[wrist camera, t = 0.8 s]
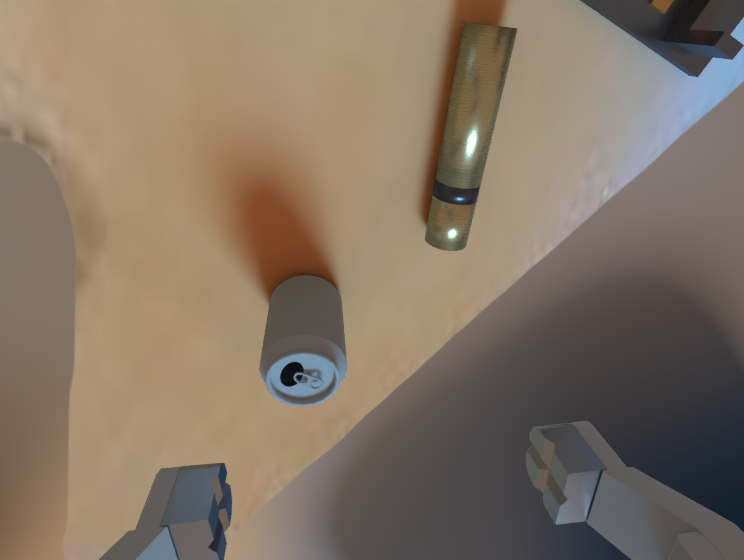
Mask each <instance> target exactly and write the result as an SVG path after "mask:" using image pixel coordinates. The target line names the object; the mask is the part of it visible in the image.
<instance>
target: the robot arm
mask: <svg viewBox="0 0 744 560" xmlns="http://www.w3.org/2000/svg"><path fill="white" fill-rule="evenodd" d="M530 440H531V441H532V443H533V445H532V446H531V447H530V448H529V449H528V450H527V455H526V464H527V470H528V473H529V476H530V479H531V481H532V483H533V484H534V486H535V487H536V488H538V489H539V490H540V491H542V492H543V493H544V498H543V503H544V505H545V506H546V508H547V510H548V511H549V513H550V515H551V517H552V519H553V521H554V522H555V524H565V523H573V522H583V521H587V523H588V524H589V525H590V526H591V527H593V528H594V529H595V530H596V531H598V532H599V533H600V534H601V535H602V536H604V537H605V538H606V539H607V540H608V541H610V542H611V543H612V544H613V545H615V546H616V547H617V548H618V549H619V550H621V551H622V552H623V553H624V554H625V555H627V556H628V557H629V558H630V559H632V560H744V533H743V532H742V531H741V530H740V529H739V528H738V527H737V526H736V525H735V524H734V523H732V522H730V521H728V520H726V519H725V518H723V517H721V516H719V515H718V514H716V513H714V512H712V511H710V510H709V509H707V508H705V507H703V506H701V505H700V504H698V503H696V502H694V501H692V500H690V499H689V498H687V497H685V496H683V495H681V494H680V493H678V492H676V491H674V490H672V489H671V488H669V487H667V486H665V485H663V484H662V483H660V482H658V481H656V480H655V479H653V478H651V477H649V476H647V475H646V474H644V473H642V472H640V471H638V470H637V469H635V468H633V467H629V468H627V467H626V466H625V465H624V463H623V462H622V461H621V460H620V459H619V457H618V456H617V455H616V453H615V452H614V451H613V450H612V449H611V447H610V446H609V445H608V444H607V442H606V441H605V440H604V439H603V438H602V436H601V435H600V434H599V433H598V432H597V430H596V429H595V428H594V427H593V425H592V424H590V423H589V422H587V421H583V422H574V423H568V424H567V423H564V424H556V425H548V426H541V427H534V428H533V429H532V430H531V433H530ZM226 476H227V470H226V466H225V463H214V464H202V465H191V466H182V467H172V468H161V469H160V471H159V472H158V473H157V474H156V477H155V479H154V482H153V485H152V487H151V490H150V492H149V495H148V498H147V500H146V503H145V506H144V508H143V511H142V513H141V516H140V519H139V521H138V524H137V526H136V529H135V530H132V531H128V532H127V533H126V534H125V535H124V536H123V537H122V538H121V539H120V540H119V541H118V542H117V543H115V544H114V545H113V546H112V547H111V548H110V549H109V550H108V551H107V552H106V553H105V554H104V555H103V556H102V557H101V558H100V559H99V560H224V556H225V550H226V545H227V543H226V538H225V534H224V532H225V531H226V530H227V528H228V527H229V526H230V521H231V515H232V494H231V488H230V485H229V484H227V483H226Z"/></svg>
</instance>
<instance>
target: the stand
mask: <svg viewBox="0 0 744 560" xmlns="http://www.w3.org/2000/svg"><path fill="white" fill-rule="evenodd" d="M581 1H582V2H584V3H585V4H586V5H588V6H589V7H591V8H592V9H594V10H595V11H597V12H598V13H599V14H601V15H602V16H604V17H605V18H607V19H608V20H610V21H611V22H613V23H614V24H615V25H617V26H618V27H620V28H621V29H623V30H624V31H626V32H627V33H628V34H630V35H631V36H633V37H634V38H636V39H637V40H639V41H640V42H641V43H643V44H644V45H646V46H647V47H649V48H650V49H652V50H653V51H654V52H656V53H657V54H659V55H660V56H662V57H663V58H665V59H666V60H667V61H669V62H670V63H672V64H673V65H675V66H676V67H678V68H679V69H680V70H682V71H683V72H685V73H686V74H688V75H689V76H695V77H698V76H699V75H700V73H701V72H702V71H703V69H704V68H705V67H706V66H707V64H708V63H709V62H710V60H711V59H712V58H713V57H715V58H723V59H731V60H733V58H734V57H735V56H736V55H737V53H738V52H739V51H740V50H741V48H742V47H743V46H744V45H743V44H741V43H740V42H739V41H737V40H736V39H735V38H733V37H732V36H731V35H730V34H731V33H732V31H733V30H734V29H735V28H736V26H737V25H738V24H739V22H740V21H741V20H742V18H743V17H744V0H581Z"/></svg>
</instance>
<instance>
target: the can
mask: <svg viewBox="0 0 744 560" xmlns="http://www.w3.org/2000/svg"><path fill="white" fill-rule="evenodd" d="M259 370H260V373H261V376H262V379H263V380H264V382H265V383H266V386H267V389H268V391H269V392H270V393H271V394H272V395H273V397H275V398H276V399H278V400H279V401H281V402H283V403H286V404H290V405H293V406H310V405H315V404H318V403H321V402H323V401H325V400H327V399H328V398H330V397H331V396H332V395H333V394H334V393H335V392H336V390H337V389H338V388H339V384H340V383H341V381H342V380H343V379H344V377H345V374H346V370H347V359H346V347H345V335H344V323H343V311H342V302H341V296H340V294H339V293H338V291H337V289H336V288H335V287H334V286H333V285H332V284H331V283H330V282H328V281H327V280H324V279H322V278H320V277H318V276H311V275H301V276H294V277H292V278H289V279H287V280H284V281H283V282H282V283H281V284H279V285H278V286H277V287H276V288H275V290H274V292H273V293H272V295H271V298H270V304H269V311H268V317H267V323H266V329H265V335H264V341H263V347H262V354H261V360H260V368H259Z"/></svg>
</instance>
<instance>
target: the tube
mask: <svg viewBox="0 0 744 560" xmlns="http://www.w3.org/2000/svg"><path fill="white" fill-rule="evenodd" d="M516 33H517V29H516V28H508V27H500V26H491V25H482V24H474V23H463V28H462V34H461V39H460V45H459V50H458V56H457V62H456V67H455V73H454V78H453V84H452V89H451V95H450V101H449V106H448V112H447V117H446V123H445V128H444V134H443V140H442V145H441V151H440V156H439V162H438V167H437V173H436V179H435V184H434V190H433V195H432V201H431V206H430V212H429V218H428V223H427V229H426V234H425V241H426V242H427V243H428V244H429V245H431V246H433V247H435V248H438V249H441V250H447V251H458V250H462V249H464V248H465V247H466V244H467V240H468V236H469V232H470V227H471V223H472V219H473V215H474V210H475V206H476V202H477V198H478V194H479V189H480V185H481V181H482V177H483V172H484V168H485V164H486V160H487V155H488V151H489V147H490V143H491V139H492V134H493V130H494V126H495V122H496V117H497V113H498V109H499V105H500V100H501V96H502V92H503V88H504V84H505V79H506V75H507V71H508V67H509V62H510V58H511V54H512V50H513V45H514V41H515V37H516Z"/></svg>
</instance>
